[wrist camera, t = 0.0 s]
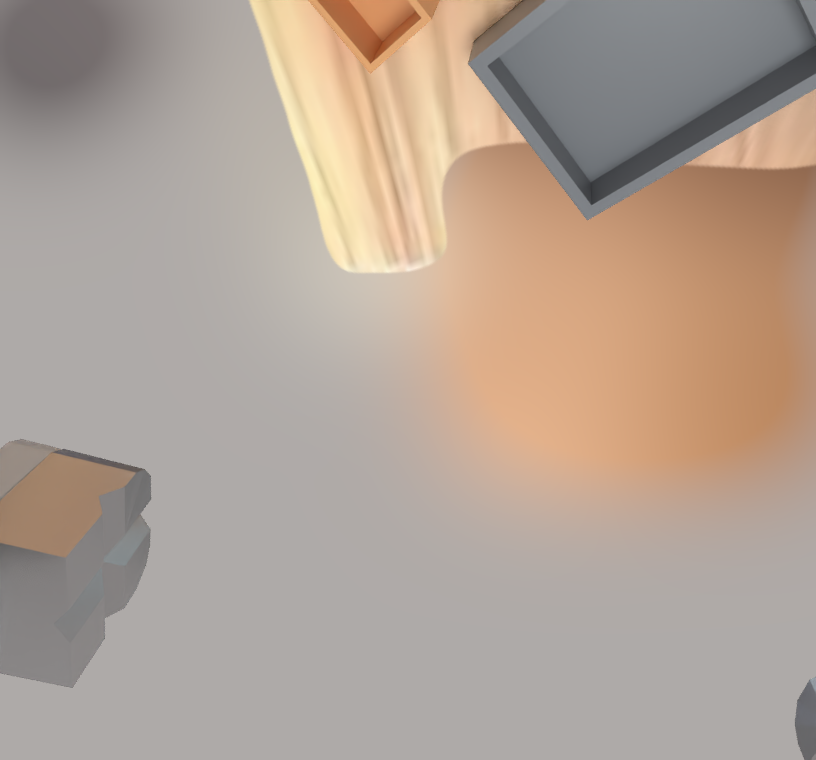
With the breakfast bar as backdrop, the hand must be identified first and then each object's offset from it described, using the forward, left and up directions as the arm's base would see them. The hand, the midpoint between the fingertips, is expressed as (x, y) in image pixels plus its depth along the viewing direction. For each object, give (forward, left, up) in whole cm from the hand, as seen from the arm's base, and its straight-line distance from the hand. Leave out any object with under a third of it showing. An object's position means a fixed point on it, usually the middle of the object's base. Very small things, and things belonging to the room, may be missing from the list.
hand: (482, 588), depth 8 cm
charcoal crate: (+1, +14, -52) cm, 54 cm away
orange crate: (+14, -2, -52) cm, 54 cm away
